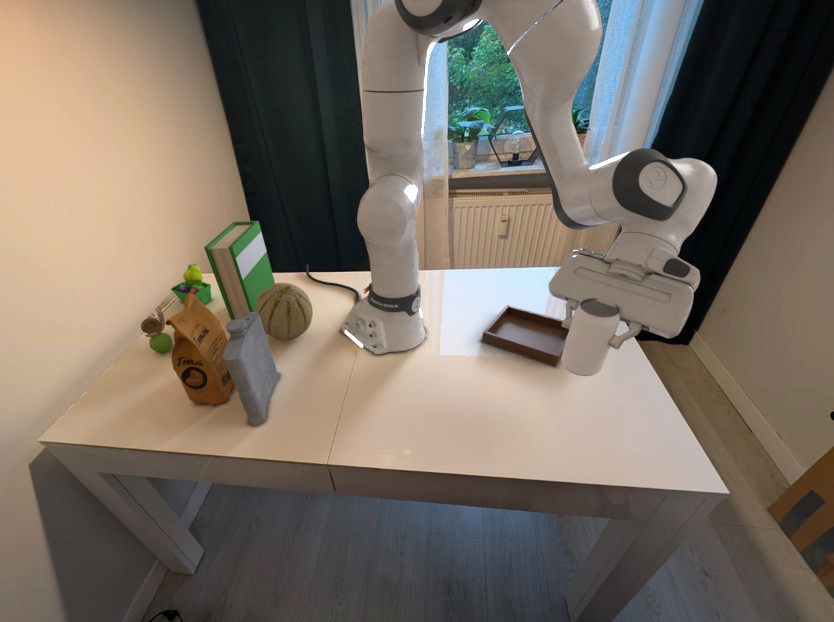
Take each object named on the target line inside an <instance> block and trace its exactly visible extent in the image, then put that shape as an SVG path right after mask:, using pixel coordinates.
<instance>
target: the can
mask: <svg viewBox="0 0 834 622" xmlns="http://www.w3.org/2000/svg"><path fill="white" fill-rule="evenodd" d="M597 299H598V298H589V299H585V300H583V301H582V302H581V303H580V306H579V307H578V308H577V309H576V310H575V311H574V313H573V315H572V318H573V319H572V323H571V326H570V329H569V333H568V336H567V340H566V343H565V347H564V350H563V354H562V357H561V359H560V363H561V365H562V366H563V368H564V369H566V371H568V372H569V373H571V374H574V375H577V376H582V377H591V376H594V375H597V374H599V373H600V372H601V371H602V369H603V367H604V364H605V362H606V359H607V356H608V354H609V351H610V349H611V347H610V346H609V345H608V343H609V341H610V340H612V339H611V338H612V337H613V335H616V333H617V330H618V328H619V324H620V322H621V321H620V315H619V313H620V308H619V306H618V305H616V304H615V306H616V308H615V307H613V306H610V305H607V304H604V303H601V302H598V301H594V300H597Z"/></svg>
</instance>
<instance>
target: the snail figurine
mask: <svg viewBox="0 0 834 622" xmlns="http://www.w3.org/2000/svg"><path fill="white" fill-rule="evenodd" d="M157 309H158V311H157V313H156V315H157V317H158V318H155V317H147V318H145V319H144V320H143V321H142V322H141V323H140V329H141V331H142V332H143V333H145V337H147V338H149V341H148V345H149V347H150V349H151V350H152V351H154V352H155V353H158V354H163V353H164V354H165V353H167V352H168V351H170V350H172V348H173V345H174V340H173V339H172V336H170V334H168V333H166V332H163V331H164V330H165V326H166V324H165V323H166V321H165V317H164V311H163V310H162V308H161V307H160V306H159V305H158V306H157Z"/></svg>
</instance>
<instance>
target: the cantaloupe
mask: <svg viewBox="0 0 834 622" xmlns="http://www.w3.org/2000/svg"><path fill="white" fill-rule="evenodd" d="M255 312H258V313H259V315H260V318H261V322H262V325H263V328H264V331H265V334H266V336H269V337H271V338H274V339H276V340H280V341H289V340H290V341H291V340H294V339H297V338H299V337H301V336H302V335H303V334H304V333H306V331H307V330H308V329H309V328H310V326H311V323H312V319H313V315H314V311H313V304H312V301H311V300H310V298H309V296H308V294H307V292H306V291H304V289H302V288H300V286H297V285H295V284H293V283H289V282H275V284H273V285H271V286H270V287H268V288H266V289H265V290H264V291H263V292H262V293H261V294H260V295H259V297H258V299H257V302H256V311H255Z"/></svg>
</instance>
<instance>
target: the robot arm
mask: <svg viewBox="0 0 834 622" xmlns="http://www.w3.org/2000/svg"><path fill="white" fill-rule="evenodd" d="M483 21H485V22H486V23H488V24H489V25H490V26H491V27H492V29H493V30H494V32H495V33H496V35H497V36H498V38H499V41H500V42H501V44H502V46H503V48H504V50H505V52H506V54H507V56H508V58H509V60H510V63H511V64H512V67H513V69H514V72H515V74H516V77H517V80H518V83H519V86H520V90H521V94H522V101H523V102H522V103H523V112H524V116H525V119H526V123H527V126H528V129H529V132H530V135H531V138H532V140H533V143H534V145H535V148H536V150H537V153H538V155H539V158H540V159H541V160H540V161H541V164H542V165H543V169H544V171H545V174H546V176H547V178H548V182H549V186H550V190H551V198H552V205H553V210H554V213H555V215H556V217H557V219H558V220H559V222H560V223H561V224H562V225H563V226H565V227H566V228H569V229H571V230H574V231H575V230H576V231H582V230H583V231H585V230H587V229H590V228H594V227H597V226H601V225H606V224H611V223H616V224H618V225H620V226H621V231H620V232H619V234H618V235H617V237H616V238H615V240H614V242H613V244H612V245H611V247H610V249H609V250H608V252H607V254H605V253H601V252H595V251H591V250H589V249H586V248H580V249H575V250H572V251H570V252H568V253H567V255H566V257H565V258H564V260H563V262H562V263H561V266H560V268H558V270H557V271H556V272H555V274H554V275H553V276H552V277H551V279H550V281H549V282H548V287H547V288H548V291H549V293H550V294H551V296H553V297H554V298H557V299H559V300H562V301H565V302H566V303H565V318H564V319H563V320H564V321H563V323H562V327H563V328H566V329H568V330H569V329H570V326H571V323H572V319H573V311H574V312H575V310H576V309H577V308H578V307H579V306H580V303H581V302H582V301H583V300H585V299H589V298H598V299H597V300H594V301H598V302H601V303H604V304H607V305H610V306H613V307H615V308H616V306H615V304H616V305H618V306H619V308H620V313H619V315H620V322H622V323H625V324H627V325H628V326H627V329H628V330H627V331H626V332H624V333H623V334H620V335H617V334H615V335H613V337H612V338H611V339H612V340H610V341H609V343H608V345H609V346H610V348H612V349H614V350H617V351H619V350H620V348H621V347H622V345H623V344H624V342H627V341H628V340H630V339H632V338H634V337H636V336H638V335H639V334H640V332H641V330H643V331H647V332H649V333H652V334H655V335H657V336H661V337H663V338H666V339H672V338H675V337H677V336H678V335H680V333H681V332H682V330H683V328H684V327H685V325H686V322H687V321H688V319H689V316H690V314H691V311H692V307H693V304H694V293H695V292H696V290H697V289H698V287H699V285H700V282H701V273H700V272H701V271H700V270H699V269H698V268H697V267H695V266H694V265H692V264H690V263H689V262H688V261H685V260H683V259H681V258H680V257H678V256H679V255H680V251H681V247H682V245H683V243H684V242H685V240H686V239H687V238H688V237H690V236H691V235H692V233H694V231H695V229H696V228H697V227H698V225H699V223H700V222H701V220H702V218H704V216H705V213H706V212H707V210H708V208H709V207H710V204H711V202H712V200H713V198H714V195H715V193H716V188H717V185H718V176H717V173H716V171H715V169H714V168H713V167H712V166H711V165H710V164H708V163H706V162H705V161H702V160H700V159H697V158H692V157H683V158H678V159H674V158H673V159H672V158H668V157H666V156H665V155H663V153H661V152H660V151H658V150H656V149H654V148H648V147H641V148H636V149H634V150H630V151H627V152H625V153H622V154H619V155H617V156H614V157H612V158H609V159H608V160H605V161H603V162H599V163H597V164H593V163H591V162H590V161H588V160H587V158H586V156H585V153H584V151H583V147H582V144H581V142H580V139H579V135H578V133H577V129H576V127H575V123H574V121H573V113H572V112H573V103H574V100H575V97H576V94H577V92H578V90H579V88H580V86H581V85H582V83H583V81H584V80H585V78H586V76H587V75H588V73H589V72H590V70H591V68H592V66H593V64H594V63H595V60H596V57H597V56H598V52H599V49H600V46H601V43H602V38H603V33H604V32H603V22H602V15H601V12H600V9H599V5H598V2H597V0H393V1H390V2H386V3H383V4H381V5H380V6H378V7H377V8H376V9H374V11H373V12H372V13H371V14H370V16H369V18H368V20H367V24H366V29H365V36H364V44H363V45H364V46H363V55H362V76H361V82H362V83H361V86H362V91H361V92H362V130H363V131H362V132H363V133H362V134H363V135H362V137H363V143H364V146H365V148H366V149H365V150H366V155H367V160H368V167H369V184H368V188H367V189H366V190H365V192H364V194H363V195H362V197H361V198H360V200H359V204H358V208H357V217H356V224H357V227H358V230H359V232H360V234H361V236H362V237H363V241H364V244H365V247H366V251H367V255H368V260H369V267H370V280H371V282H370V283H369V284H368V285H367V286H366V287H365V288H364V289H362V291H363V294H364V295H365V294H368V295H366V296H365V297H363V298H361V297H360V294H359V291H358V290H357V289H356V288H353V287H351V286H348V285H345V284H343V283H337V282H331V281H323V280H321V279H318V278H315V277H313V276H311V274H310V269H309V267H310V265H309V264H308V263H307V264H306V265H305V274H306V276H307V278H308V279H309V280H311V281H313V282H315V283H318V284H321V285H323V286H324V285H325V286H331V287H338V288H342V289H345V290H347V291H351V292H352V293H353V294H355V299H356V302H355V304H354V305H352V307H351V309H350V311H349V317H348V318H347V319H346V320H345V321H344V322H343V324H342V326H341V332H342V333H343V334H344V335H345V336H347V337H349V338H350V339H351V340H352V341H353V342H354V343H356V344H357V345H358V346H359V347H360V348H366V349H367V350H368V351H370V352H372V353H373V354H375V355H383V354H386V353H390V352H391V353H392V352H395V353H397V352H405V351H409V350H412V349H415V348H416V347H418V346H419V345H421V344H422V343H423V341H424V340H425V338H426V331H425V327H424V325H423V322H422V318H423V317H424V315H423V312H422V310H421V300H422V292H421V291H422V290H421V283H420V281H419V280H420V272H419V271H420V265H419V264H420V259H419V257H420V254H419V249H418V242H417V230H416V221H417V216H418V215H417V214H418V210H419V207H420V204H421V202H422V197H423V196H422V195H423V174H424V173H423V170H424V127H425V115H426V114H425V113H426V112H425V111H426V97H427V83H428V82H427V81H428V66H429V61H430V55H431V52H432V50H433V49H434V47H435V46H436V44H444V43H446V42H448V41H451V40H453V39H455V38H457V37H460V36H463V35H465V34H468V33H469V32H471V31H472V30H474V29H475V28H476V27H478V26H479V25H480V24H481V23H482V22H483Z"/></svg>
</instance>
